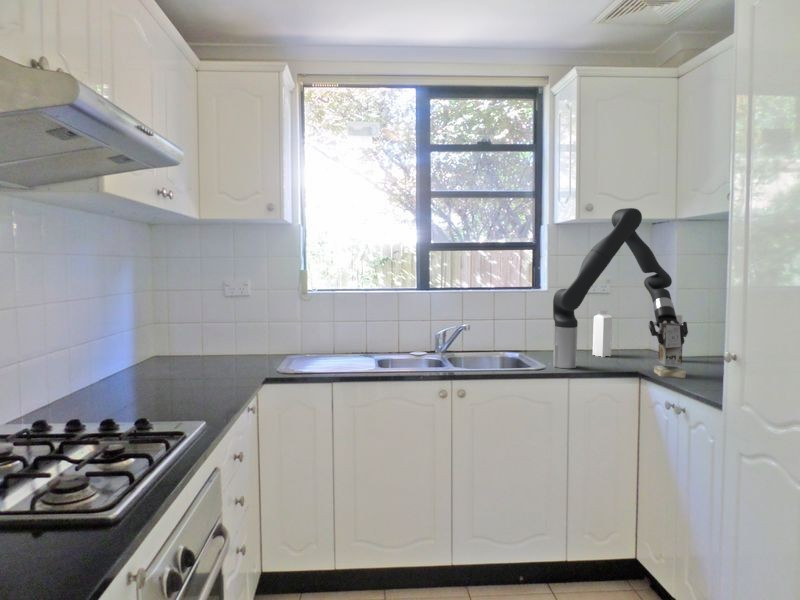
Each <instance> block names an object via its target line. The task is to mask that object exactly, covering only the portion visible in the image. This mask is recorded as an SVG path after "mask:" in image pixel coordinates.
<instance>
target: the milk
mask: <svg viewBox="0 0 800 600" xmlns="http://www.w3.org/2000/svg"><path fill="white" fill-rule="evenodd" d="M592 322H593V328H592V329H593V330H592V356H593V355H595V356H594V357H598V356H601V357H600V358H606V357H605V356H609V357H612V342H613V341H612V339H613V338H612V335H613V334H612V333H613V316H612V315H610V313H608V310H607V309H601V310H600V309H599V310H598V313H597V314H596V315H594V316H593V321H592Z"/></svg>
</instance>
